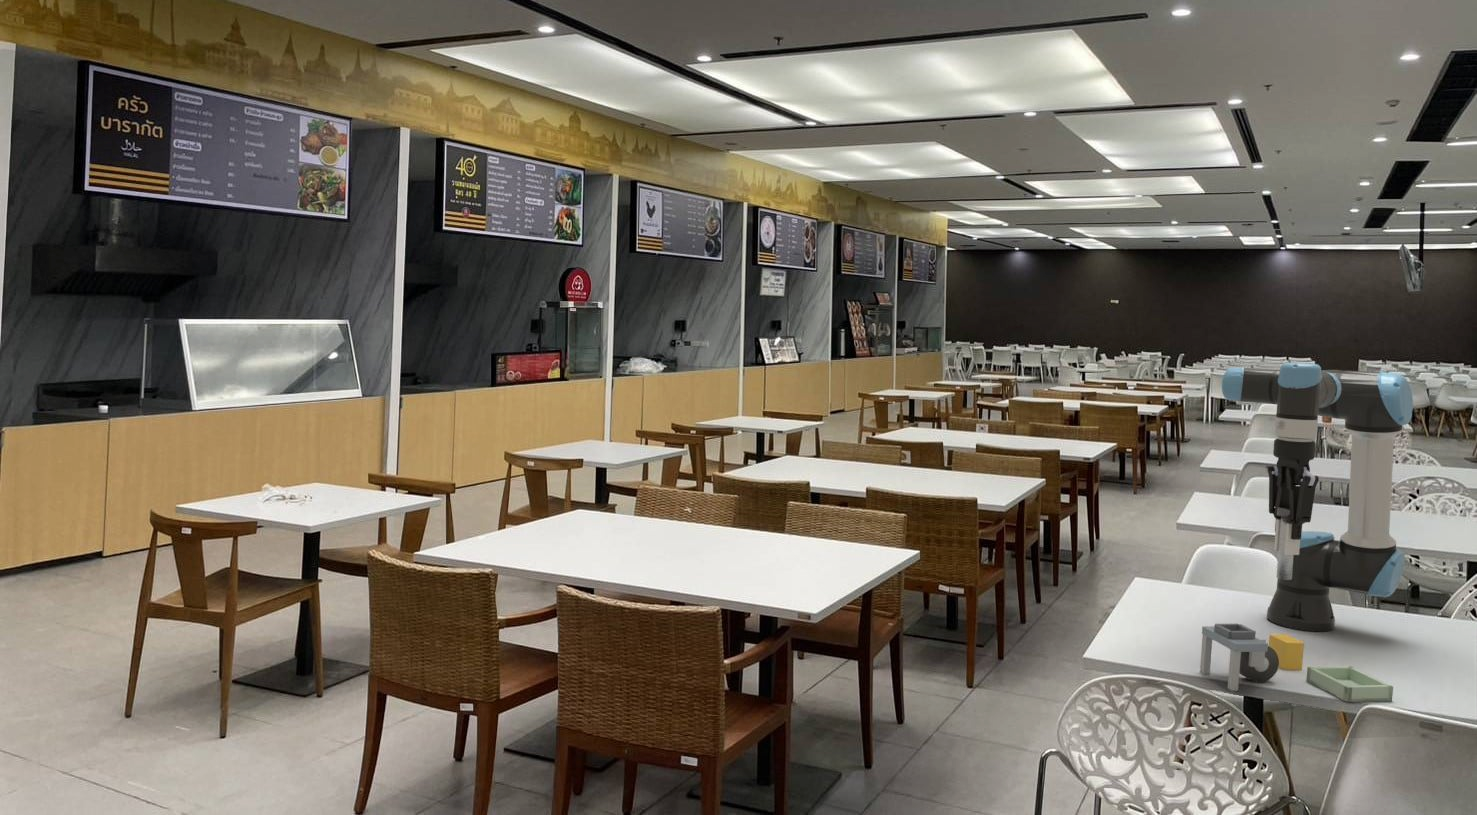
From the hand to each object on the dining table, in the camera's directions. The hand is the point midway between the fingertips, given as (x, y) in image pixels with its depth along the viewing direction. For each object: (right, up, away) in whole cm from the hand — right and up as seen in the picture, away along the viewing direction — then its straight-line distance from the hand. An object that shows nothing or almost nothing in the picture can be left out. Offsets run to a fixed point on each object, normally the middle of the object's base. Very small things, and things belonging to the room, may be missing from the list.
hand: (1286, 552), depth 216 cm
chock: (+8, -27, +15) cm, 32 cm away
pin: (0, -5, +1) cm, 5 cm away
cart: (-7, -28, +4) cm, 29 cm away
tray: (+13, -28, 0) cm, 31 cm away
